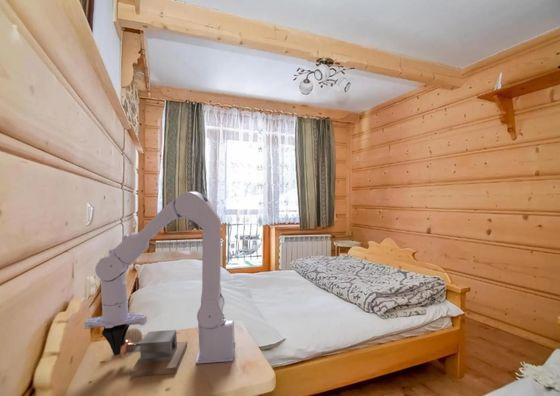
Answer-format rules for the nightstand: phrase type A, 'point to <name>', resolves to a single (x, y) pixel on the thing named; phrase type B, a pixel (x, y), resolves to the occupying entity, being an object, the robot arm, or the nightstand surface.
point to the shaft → (129, 347)
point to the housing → (159, 354)
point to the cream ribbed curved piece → (134, 335)
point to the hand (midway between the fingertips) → (118, 352)
